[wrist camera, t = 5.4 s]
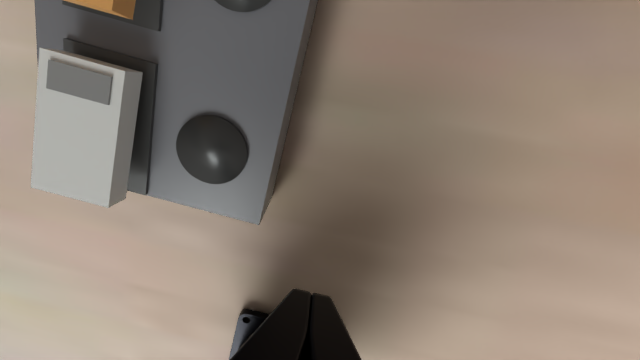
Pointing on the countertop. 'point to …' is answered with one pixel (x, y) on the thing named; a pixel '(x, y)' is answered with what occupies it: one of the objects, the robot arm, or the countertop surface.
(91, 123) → the rocker
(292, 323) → the robot arm
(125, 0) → the block
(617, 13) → the countertop surface
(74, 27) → the power strip
